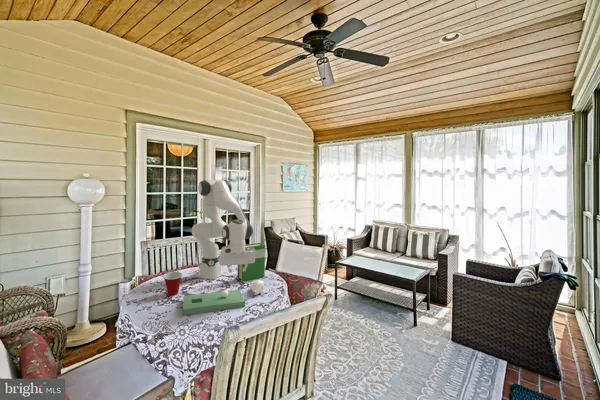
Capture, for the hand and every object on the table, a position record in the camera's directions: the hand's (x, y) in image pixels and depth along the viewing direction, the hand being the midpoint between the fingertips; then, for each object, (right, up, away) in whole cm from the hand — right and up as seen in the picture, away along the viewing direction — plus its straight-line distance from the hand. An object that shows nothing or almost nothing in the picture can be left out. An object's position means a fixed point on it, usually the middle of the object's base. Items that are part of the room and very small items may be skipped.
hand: (237, 271), depth 167 cm
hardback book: (+1, -15, +41) cm, 43 cm away
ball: (-7, -12, -2) cm, 14 cm away
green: (-12, -17, -4) cm, 22 cm away
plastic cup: (-41, -16, +9) cm, 45 cm away
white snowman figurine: (+8, -17, +14) cm, 24 cm away
